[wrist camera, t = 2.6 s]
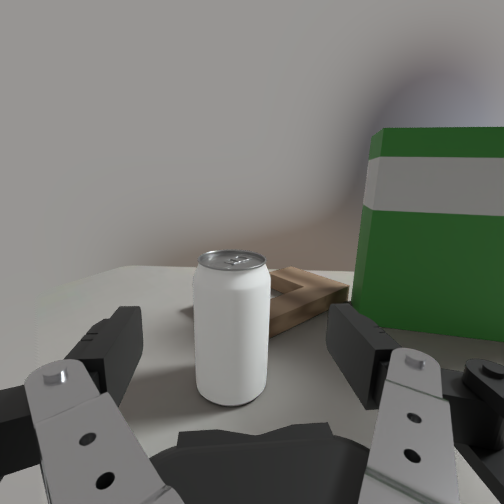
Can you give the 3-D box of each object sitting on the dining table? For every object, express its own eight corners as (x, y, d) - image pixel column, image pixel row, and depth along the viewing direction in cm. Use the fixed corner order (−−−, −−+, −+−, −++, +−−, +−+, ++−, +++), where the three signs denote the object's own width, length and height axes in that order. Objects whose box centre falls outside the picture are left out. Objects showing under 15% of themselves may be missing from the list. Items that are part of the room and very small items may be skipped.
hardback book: (479, 314, 41) (524, 136, 35) (512, 343, 34) (577, 126, 28) (351, 300, 44) (371, 137, 38) (357, 323, 37) (383, 127, 31)
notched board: (290, 278, 53) (290, 266, 52) (347, 300, 44) (349, 285, 44) (196, 308, 40) (195, 292, 40) (251, 347, 32) (251, 327, 31)
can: (180, 386, 26) (174, 259, 22) (228, 352, 31) (228, 244, 27) (235, 423, 22) (237, 277, 19) (279, 378, 27) (286, 257, 24)
